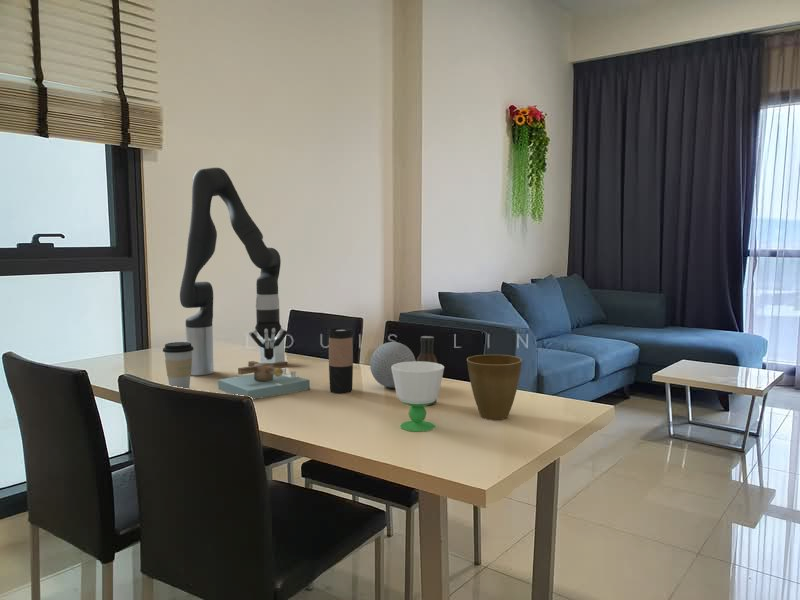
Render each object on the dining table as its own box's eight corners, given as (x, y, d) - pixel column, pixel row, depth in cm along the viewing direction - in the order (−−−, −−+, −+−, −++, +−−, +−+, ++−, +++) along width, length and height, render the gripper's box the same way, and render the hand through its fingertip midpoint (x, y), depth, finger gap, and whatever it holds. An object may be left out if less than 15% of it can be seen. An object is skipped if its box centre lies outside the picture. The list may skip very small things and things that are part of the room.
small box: (285, 364, 241) (284, 337, 240) (275, 366, 237) (274, 339, 236) (270, 362, 246) (269, 336, 245) (259, 364, 241) (259, 337, 240)
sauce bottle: (435, 406, 179) (435, 338, 177) (414, 405, 181) (414, 338, 179) (438, 401, 185) (439, 335, 184) (418, 400, 187) (418, 334, 185)
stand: (218, 388, 201) (217, 373, 200) (277, 378, 215) (277, 364, 215) (249, 400, 185) (248, 384, 185) (310, 389, 200) (310, 374, 200)
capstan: (227, 378, 201) (227, 363, 201) (273, 371, 212) (273, 356, 212) (256, 388, 187) (256, 372, 186) (304, 380, 198) (303, 365, 198)
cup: (404, 437, 151) (404, 373, 150) (383, 422, 163) (383, 363, 162) (453, 430, 156) (454, 369, 155) (429, 416, 169) (429, 359, 167)
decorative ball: (415, 393, 195) (415, 346, 194) (368, 392, 196) (367, 345, 195) (416, 382, 210) (416, 338, 209) (372, 381, 211) (372, 338, 210)
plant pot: (499, 406, 179) (500, 352, 178) (532, 419, 166) (533, 361, 165) (455, 413, 173) (456, 356, 171) (486, 427, 159) (487, 366, 158)
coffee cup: (184, 394, 194) (183, 346, 192) (157, 392, 196) (156, 345, 194) (200, 387, 203) (199, 342, 202) (174, 385, 205) (172, 341, 203)
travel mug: (334, 395, 193) (333, 331, 191) (325, 389, 200) (325, 328, 198) (356, 392, 196) (356, 330, 194) (347, 387, 203) (347, 327, 201)
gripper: (250, 309, 199) (251, 362, 200) (290, 307, 205) (291, 359, 206) (245, 307, 206) (246, 359, 207) (284, 306, 212) (285, 356, 213)
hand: (269, 359), depth 207 cm, fingers closed
